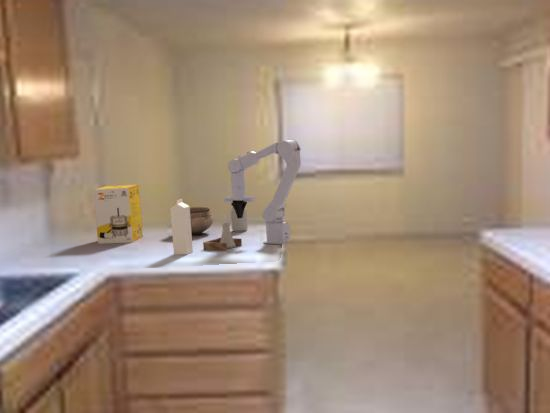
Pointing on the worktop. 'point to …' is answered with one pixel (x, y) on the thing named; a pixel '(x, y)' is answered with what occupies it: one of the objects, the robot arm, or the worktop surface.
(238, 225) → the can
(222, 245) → the box
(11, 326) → the worktop surface
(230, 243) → the flask
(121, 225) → the packaging box
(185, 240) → the milk
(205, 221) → the cooking pot
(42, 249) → the worktop surface
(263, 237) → the worktop surface
